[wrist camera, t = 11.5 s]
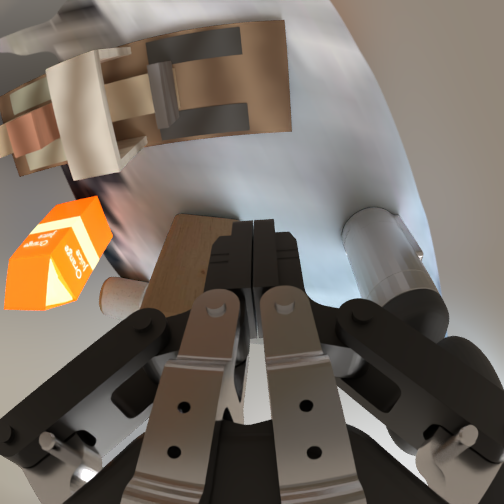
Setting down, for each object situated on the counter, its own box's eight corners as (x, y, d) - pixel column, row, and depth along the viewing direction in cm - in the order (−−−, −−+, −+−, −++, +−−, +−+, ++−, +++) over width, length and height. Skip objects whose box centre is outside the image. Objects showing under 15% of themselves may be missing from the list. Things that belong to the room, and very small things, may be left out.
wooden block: (243, 217, 45) (236, 328, 29) (236, 270, 51) (229, 379, 35) (175, 210, 44) (133, 315, 28) (176, 263, 50) (146, 368, 34)
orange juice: (55, 204, 43) (-13, 286, 27) (97, 194, 42) (28, 284, 26) (73, 242, 48) (18, 329, 32) (113, 237, 47) (62, 333, 31)
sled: (173, 60, 30) (158, 62, 25) (181, 115, 34) (168, 127, 29) (-32, 136, 32) (-55, 150, 27) (-21, 171, 36) (-42, 188, 31)
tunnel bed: (283, 21, 28) (294, 10, 20) (290, 128, 37) (301, 157, 28) (3, 95, 31) (-45, 117, 22) (24, 172, 39) (-16, 207, 31)
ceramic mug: (108, 266, 51) (93, 298, 45) (151, 273, 52) (139, 307, 46) (116, 306, 57) (104, 336, 51) (155, 313, 58) (146, 345, 52)
